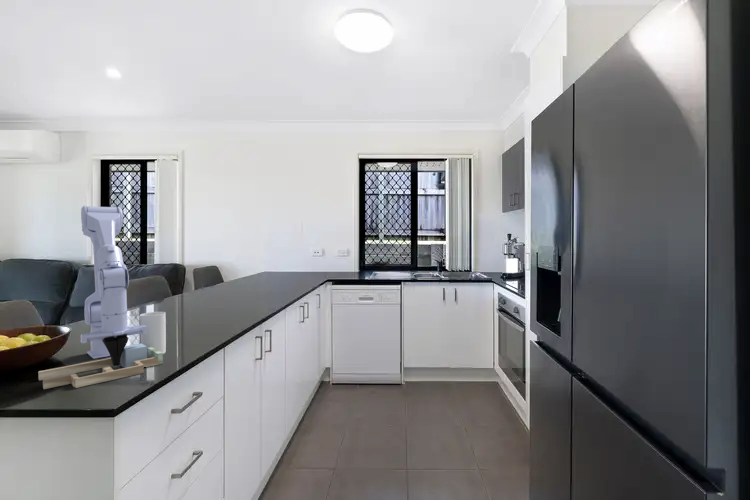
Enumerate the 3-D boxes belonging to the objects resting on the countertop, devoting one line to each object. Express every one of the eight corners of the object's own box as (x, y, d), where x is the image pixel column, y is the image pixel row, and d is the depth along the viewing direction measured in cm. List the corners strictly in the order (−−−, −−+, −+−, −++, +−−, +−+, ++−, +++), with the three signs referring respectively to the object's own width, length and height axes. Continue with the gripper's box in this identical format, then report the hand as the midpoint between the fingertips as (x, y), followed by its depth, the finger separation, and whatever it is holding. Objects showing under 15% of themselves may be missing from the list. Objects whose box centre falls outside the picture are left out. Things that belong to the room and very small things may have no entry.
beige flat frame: (38, 379, 98) (38, 367, 98) (151, 356, 116) (151, 346, 116) (46, 394, 88) (45, 381, 88) (168, 367, 106) (168, 356, 106)
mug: (164, 355, 117) (163, 314, 117) (138, 358, 115) (137, 316, 115) (169, 347, 127) (168, 309, 127) (145, 349, 125) (144, 311, 124)
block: (120, 365, 109) (120, 347, 108) (141, 361, 112) (140, 343, 112) (126, 369, 105) (125, 350, 105) (147, 364, 109) (146, 346, 109)
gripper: (83, 319, 97) (85, 375, 98) (149, 311, 108) (151, 361, 108) (78, 316, 102) (80, 368, 103) (141, 308, 113) (143, 356, 113)
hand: (116, 364), depth 106 cm, fingers closed
